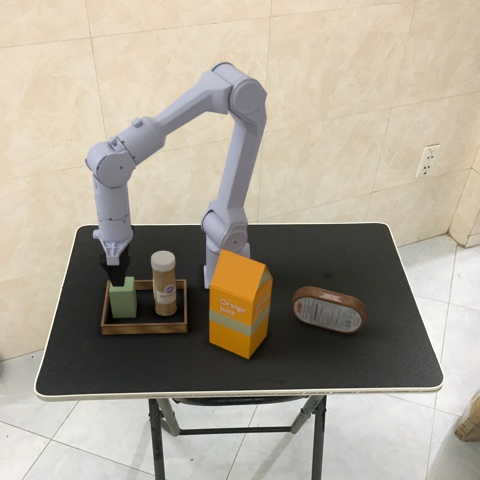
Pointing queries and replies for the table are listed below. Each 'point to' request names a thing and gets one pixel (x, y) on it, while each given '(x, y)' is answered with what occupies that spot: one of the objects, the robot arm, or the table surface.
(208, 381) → the table surface
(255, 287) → the orange juice
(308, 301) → the tin
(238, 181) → the robot arm
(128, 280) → the block
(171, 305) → the sprinkles bottle
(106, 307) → the wooden frame
